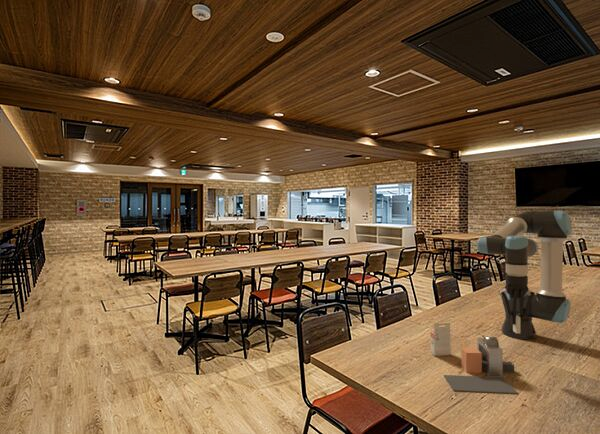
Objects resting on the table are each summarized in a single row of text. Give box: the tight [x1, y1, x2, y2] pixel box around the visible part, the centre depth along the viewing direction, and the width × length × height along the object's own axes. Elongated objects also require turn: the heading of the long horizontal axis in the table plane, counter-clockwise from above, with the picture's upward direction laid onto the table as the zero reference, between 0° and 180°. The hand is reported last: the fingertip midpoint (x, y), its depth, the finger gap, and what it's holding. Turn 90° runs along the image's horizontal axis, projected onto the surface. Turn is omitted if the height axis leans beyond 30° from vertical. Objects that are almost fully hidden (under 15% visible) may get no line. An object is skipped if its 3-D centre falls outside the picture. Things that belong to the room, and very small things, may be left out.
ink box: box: [430, 322, 452, 357], centre depth 151 cm, size 4×8×15 cm, turn 96°
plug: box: [460, 347, 515, 374], centre depth 136 cm, size 19×5×8 cm, turn 85°
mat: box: [443, 374, 519, 395], centre depth 125 cm, size 22×11×1 cm, turn 84°
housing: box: [476, 336, 504, 378], centre depth 136 cm, size 5×11×14 cm, turn 174°
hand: (516, 332), depth 135 cm, fingers closed
